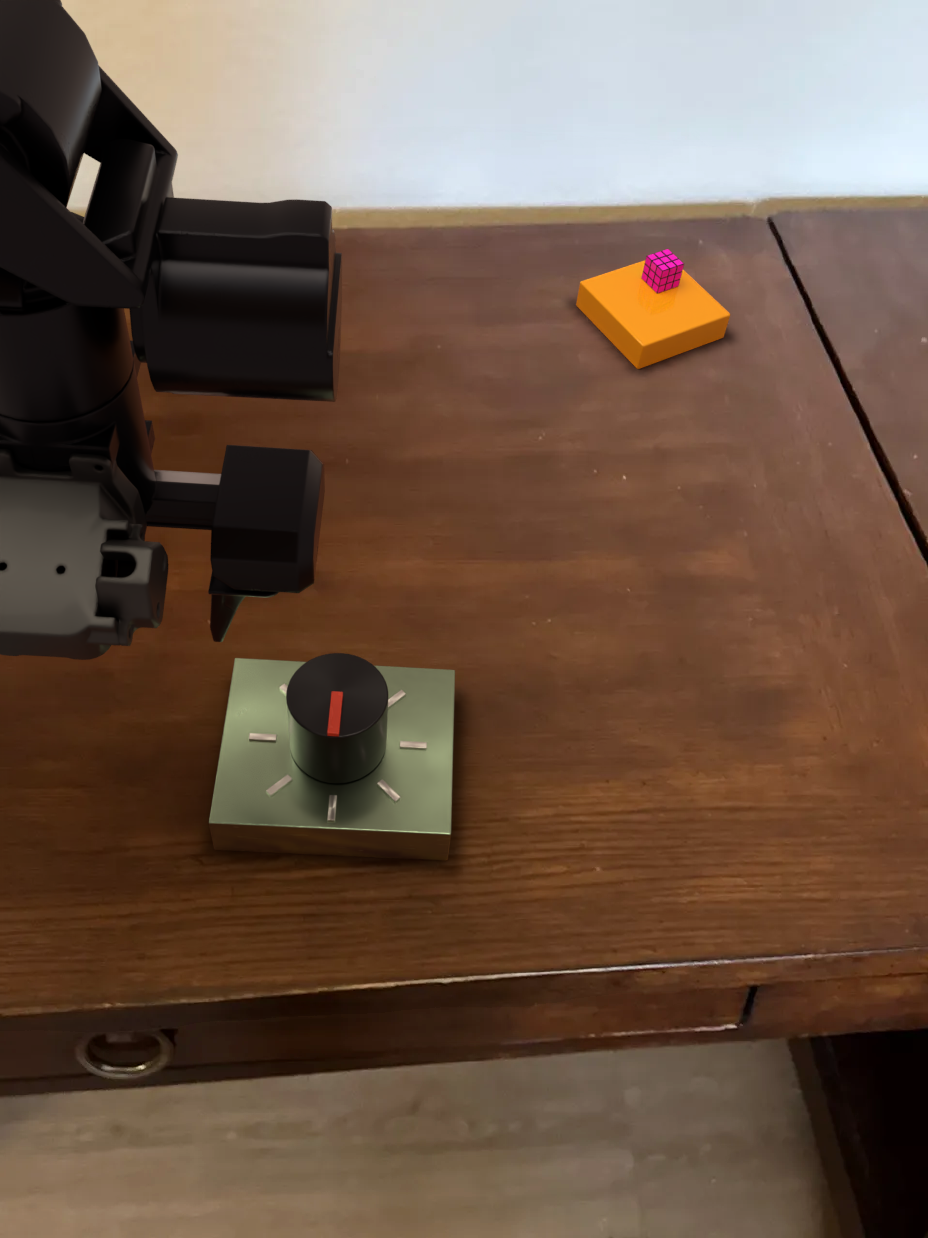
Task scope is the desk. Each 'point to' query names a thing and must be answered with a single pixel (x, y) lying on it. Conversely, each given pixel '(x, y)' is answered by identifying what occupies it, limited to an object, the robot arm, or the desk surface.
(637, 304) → the orange square platform
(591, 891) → the desk surface
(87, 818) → the desk surface
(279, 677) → the dial panel
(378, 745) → the pointer wheel
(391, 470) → the desk surface
